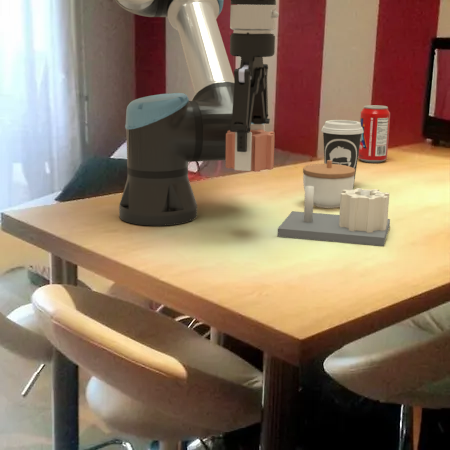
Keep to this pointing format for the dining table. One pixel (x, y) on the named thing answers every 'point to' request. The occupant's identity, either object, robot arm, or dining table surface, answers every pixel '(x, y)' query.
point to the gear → (253, 150)
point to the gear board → (342, 219)
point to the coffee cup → (342, 142)
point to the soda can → (374, 133)
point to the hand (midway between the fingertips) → (249, 164)
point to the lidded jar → (328, 182)
